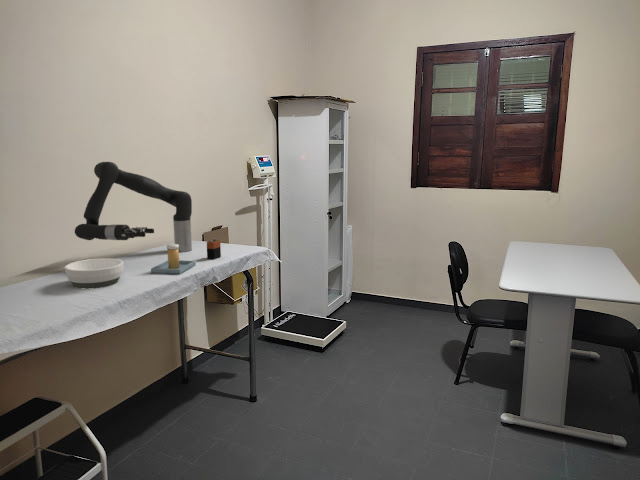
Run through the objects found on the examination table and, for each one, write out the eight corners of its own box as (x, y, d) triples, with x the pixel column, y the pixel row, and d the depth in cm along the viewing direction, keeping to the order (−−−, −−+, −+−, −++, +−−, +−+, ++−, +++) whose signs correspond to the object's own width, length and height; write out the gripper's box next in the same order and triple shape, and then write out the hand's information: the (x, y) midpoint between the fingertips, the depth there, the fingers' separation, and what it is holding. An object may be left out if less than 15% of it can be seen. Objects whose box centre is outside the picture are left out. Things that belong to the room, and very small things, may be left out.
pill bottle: (171, 266, 230) (169, 243, 228) (181, 266, 229) (180, 244, 227) (166, 269, 224) (164, 246, 222) (176, 269, 224) (175, 246, 222)
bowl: (102, 292, 189) (101, 271, 188) (53, 289, 194) (51, 269, 192) (135, 278, 211) (134, 259, 210) (90, 275, 216) (88, 257, 214)
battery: (221, 257, 253) (220, 238, 251) (213, 259, 247) (213, 240, 245) (214, 256, 255) (213, 237, 253) (206, 259, 248) (206, 240, 246)
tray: (168, 264, 236) (168, 259, 236) (195, 265, 234) (195, 260, 234) (151, 273, 219) (150, 268, 219) (180, 274, 217) (179, 269, 217)
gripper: (108, 227, 221) (141, 227, 219) (124, 222, 235) (155, 222, 233) (110, 243, 223) (142, 243, 220) (126, 237, 236) (157, 237, 234)
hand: (149, 232), depth 226 cm, fingers open, 8 cm apart
